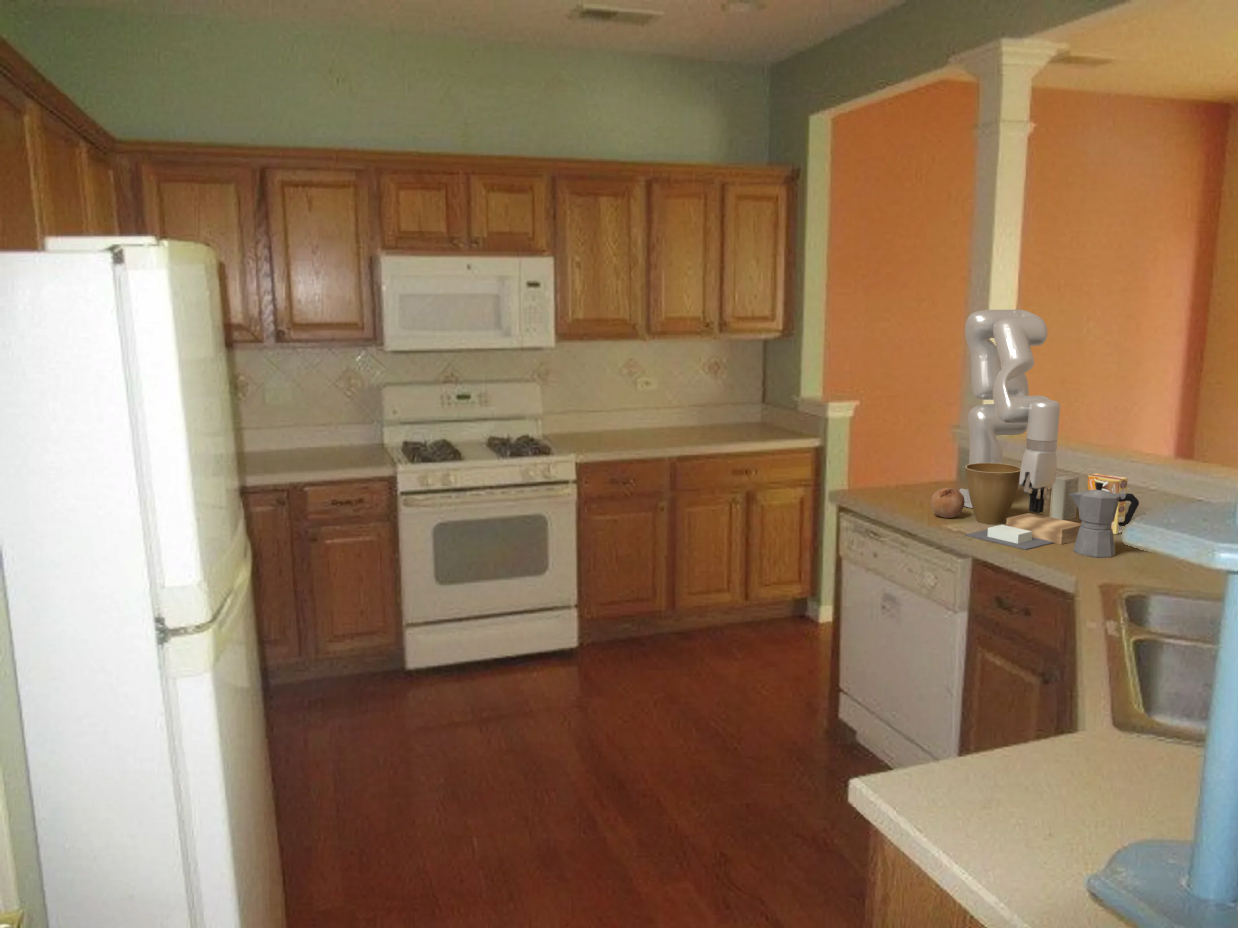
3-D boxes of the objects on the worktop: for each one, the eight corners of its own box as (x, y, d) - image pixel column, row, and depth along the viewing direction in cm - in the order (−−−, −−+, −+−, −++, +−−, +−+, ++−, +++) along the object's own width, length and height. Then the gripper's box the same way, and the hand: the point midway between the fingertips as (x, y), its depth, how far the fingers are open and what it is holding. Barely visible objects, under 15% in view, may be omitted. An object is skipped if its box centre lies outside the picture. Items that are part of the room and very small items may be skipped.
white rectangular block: (1001, 524, 240) (1001, 533, 241) (987, 527, 237) (987, 536, 238) (1032, 531, 233) (1031, 540, 233) (1018, 534, 230) (1017, 543, 230)
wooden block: (1006, 532, 243) (1006, 517, 242) (1028, 527, 248) (1029, 513, 247) (1061, 544, 229) (1062, 529, 229) (1083, 538, 235) (1084, 524, 234)
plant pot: (957, 515, 263) (960, 462, 261) (1010, 516, 261) (1014, 463, 258) (968, 527, 249) (971, 471, 246) (1024, 528, 246) (1028, 472, 244)
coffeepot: (1066, 555, 219) (1072, 484, 216) (1062, 546, 228) (1067, 477, 225) (1137, 561, 214) (1144, 488, 211) (1130, 551, 223) (1136, 481, 220)
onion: (948, 529, 258) (949, 503, 253) (923, 515, 265) (923, 489, 260) (971, 515, 262) (972, 488, 256) (945, 501, 269) (946, 475, 263)
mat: (965, 535, 240) (965, 534, 240) (993, 529, 246) (993, 528, 246) (1025, 550, 225) (1025, 548, 225) (1053, 542, 231) (1053, 541, 231)
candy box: (1124, 532, 241) (1128, 477, 238) (1115, 535, 238) (1120, 479, 236) (1091, 526, 248) (1096, 472, 245) (1083, 528, 246) (1087, 474, 243)
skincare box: (1063, 515, 262) (1066, 474, 259) (1076, 518, 258) (1079, 477, 256) (1048, 517, 259) (1051, 476, 257) (1062, 520, 255) (1065, 479, 253)
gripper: (1045, 440, 245) (1039, 505, 249) (1011, 446, 237) (1006, 512, 241) (1070, 444, 239) (1065, 510, 242) (1037, 450, 231) (1031, 518, 235)
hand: (1035, 511), depth 242 cm, fingers closed
